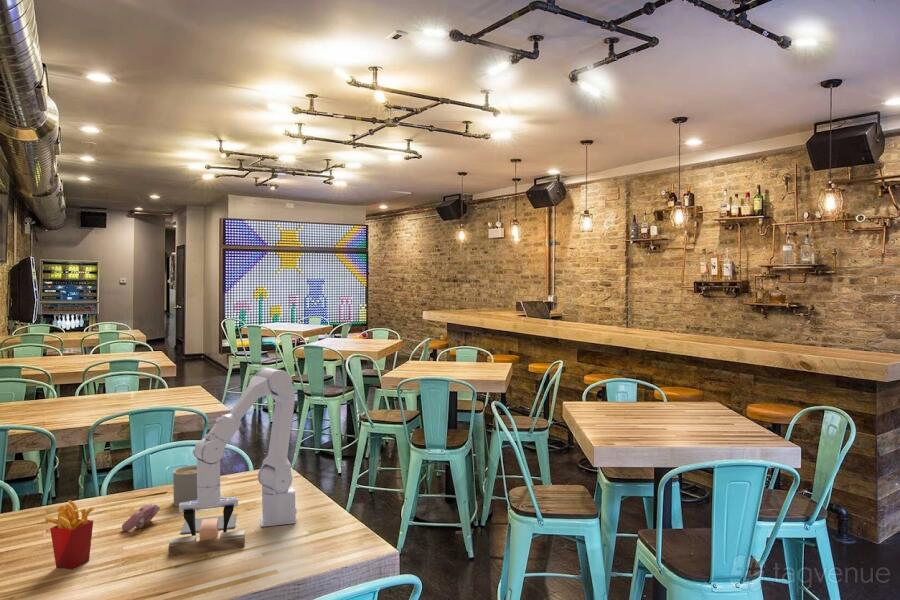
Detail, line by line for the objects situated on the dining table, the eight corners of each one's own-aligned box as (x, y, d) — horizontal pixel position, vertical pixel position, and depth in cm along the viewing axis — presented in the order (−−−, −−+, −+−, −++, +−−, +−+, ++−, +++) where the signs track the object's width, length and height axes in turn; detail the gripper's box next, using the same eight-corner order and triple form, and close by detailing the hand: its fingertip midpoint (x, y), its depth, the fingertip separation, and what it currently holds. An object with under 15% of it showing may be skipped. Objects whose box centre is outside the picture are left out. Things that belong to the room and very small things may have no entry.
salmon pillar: (218, 535, 165) (218, 517, 165) (216, 547, 157) (216, 528, 157) (202, 537, 164) (202, 519, 164) (199, 549, 156) (199, 530, 156)
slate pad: (236, 515, 180) (236, 514, 180) (234, 528, 170) (234, 526, 170) (185, 521, 175) (185, 519, 175) (180, 534, 166) (180, 532, 166)
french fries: (95, 559, 151) (94, 499, 150) (67, 574, 142) (66, 511, 142) (66, 556, 153) (65, 497, 152) (36, 571, 144) (35, 508, 144)
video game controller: (131, 538, 167) (141, 516, 167) (118, 529, 168) (128, 508, 167) (155, 524, 177) (165, 504, 176) (143, 516, 178) (152, 496, 177)
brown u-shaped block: (244, 540, 161) (244, 529, 161) (244, 546, 157) (244, 535, 157) (171, 549, 156) (170, 538, 156) (168, 556, 152) (168, 544, 152)
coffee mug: (166, 505, 189) (166, 473, 189) (187, 494, 198) (186, 464, 198) (204, 508, 186) (204, 475, 186) (223, 497, 195) (223, 466, 195)
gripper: (238, 477, 167) (239, 526, 167) (181, 482, 163) (182, 532, 163) (237, 485, 160) (237, 536, 161) (177, 490, 156) (178, 543, 156)
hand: (209, 535), depth 162 cm, fingers open, 7 cm apart
